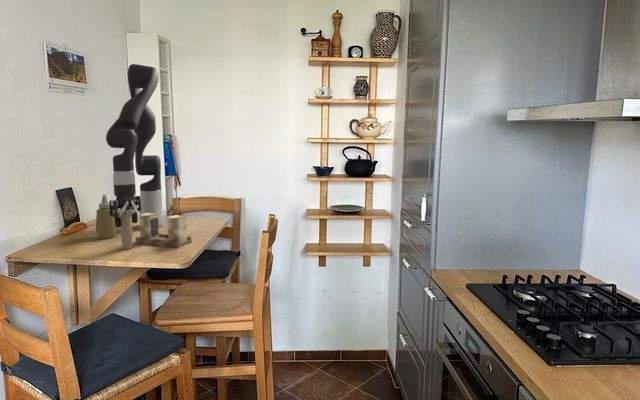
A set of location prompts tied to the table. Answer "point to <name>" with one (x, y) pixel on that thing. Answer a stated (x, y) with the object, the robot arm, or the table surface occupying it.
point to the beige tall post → (126, 228)
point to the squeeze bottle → (105, 220)
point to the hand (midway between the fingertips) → (126, 225)
